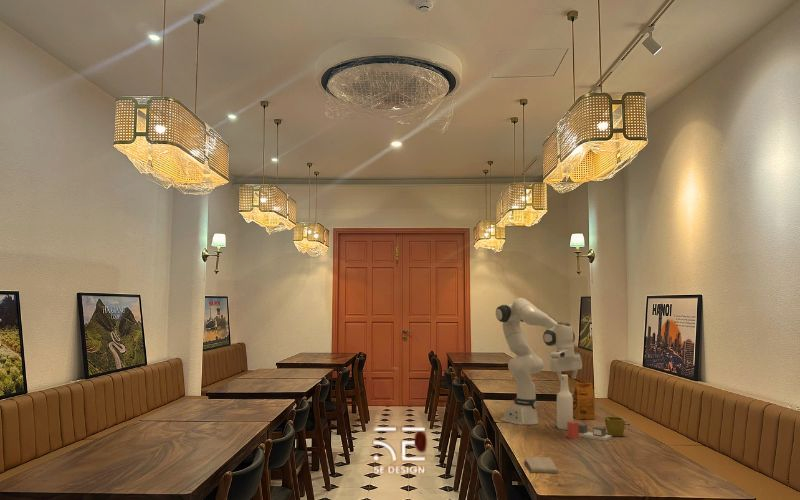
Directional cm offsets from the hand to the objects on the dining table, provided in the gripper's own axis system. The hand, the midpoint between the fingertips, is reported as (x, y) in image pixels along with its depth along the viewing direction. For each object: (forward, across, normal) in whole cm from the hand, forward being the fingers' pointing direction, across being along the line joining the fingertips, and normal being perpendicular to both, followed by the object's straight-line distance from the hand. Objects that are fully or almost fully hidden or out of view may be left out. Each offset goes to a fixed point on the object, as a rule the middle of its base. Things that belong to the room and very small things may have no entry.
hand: (567, 379), depth 298 cm
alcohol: (+30, -14, -18) cm, 38 cm away
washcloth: (+31, +52, +32) cm, 68 cm away
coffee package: (+30, -46, -34) cm, 65 cm away
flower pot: (+32, -27, +6) cm, 42 cm away
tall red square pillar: (+31, -2, -1) cm, 31 cm away
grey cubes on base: (+31, -12, +2) cm, 33 cm away
